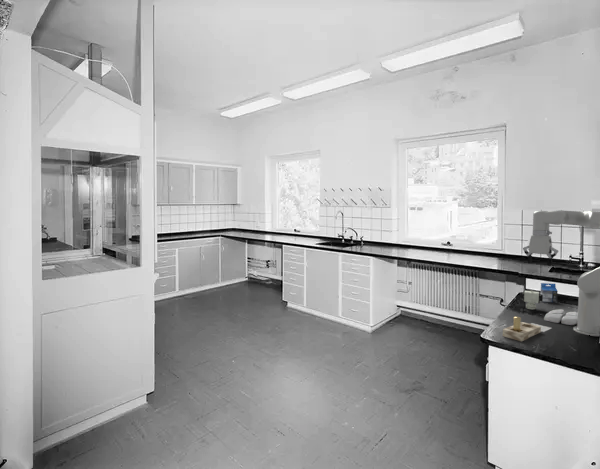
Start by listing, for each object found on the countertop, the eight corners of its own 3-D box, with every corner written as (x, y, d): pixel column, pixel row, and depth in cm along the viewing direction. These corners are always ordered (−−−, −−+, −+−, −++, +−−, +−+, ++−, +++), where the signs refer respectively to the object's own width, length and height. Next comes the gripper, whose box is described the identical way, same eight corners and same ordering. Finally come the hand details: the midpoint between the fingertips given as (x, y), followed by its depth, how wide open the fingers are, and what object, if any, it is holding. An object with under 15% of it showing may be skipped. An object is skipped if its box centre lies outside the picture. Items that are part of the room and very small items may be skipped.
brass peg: (521, 337, 180) (521, 317, 179) (518, 338, 178) (518, 318, 177) (514, 335, 182) (515, 316, 181) (511, 336, 180) (512, 317, 180)
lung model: (541, 321, 204) (550, 315, 222) (578, 328, 192) (586, 322, 209) (542, 309, 204) (551, 304, 221) (580, 316, 192) (587, 310, 209)
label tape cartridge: (541, 302, 243) (542, 284, 242) (539, 300, 247) (540, 283, 246) (557, 303, 240) (558, 284, 239) (554, 301, 244) (555, 283, 243)
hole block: (540, 333, 185) (540, 326, 184) (521, 341, 174) (521, 334, 173) (522, 328, 192) (522, 321, 192) (502, 336, 181) (502, 329, 181)
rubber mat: (552, 328, 191) (552, 328, 191) (543, 332, 185) (543, 331, 185) (531, 323, 199) (531, 323, 199) (522, 327, 194) (522, 326, 194)
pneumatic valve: (542, 311, 222) (542, 292, 221) (520, 308, 229) (520, 289, 228) (542, 309, 227) (542, 290, 226) (520, 306, 233) (521, 288, 232)
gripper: (561, 233, 191) (560, 265, 193) (527, 232, 206) (525, 261, 207) (555, 234, 187) (554, 267, 189) (520, 232, 202) (519, 262, 203)
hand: (539, 264), depth 198 cm, fingers open, 9 cm apart
